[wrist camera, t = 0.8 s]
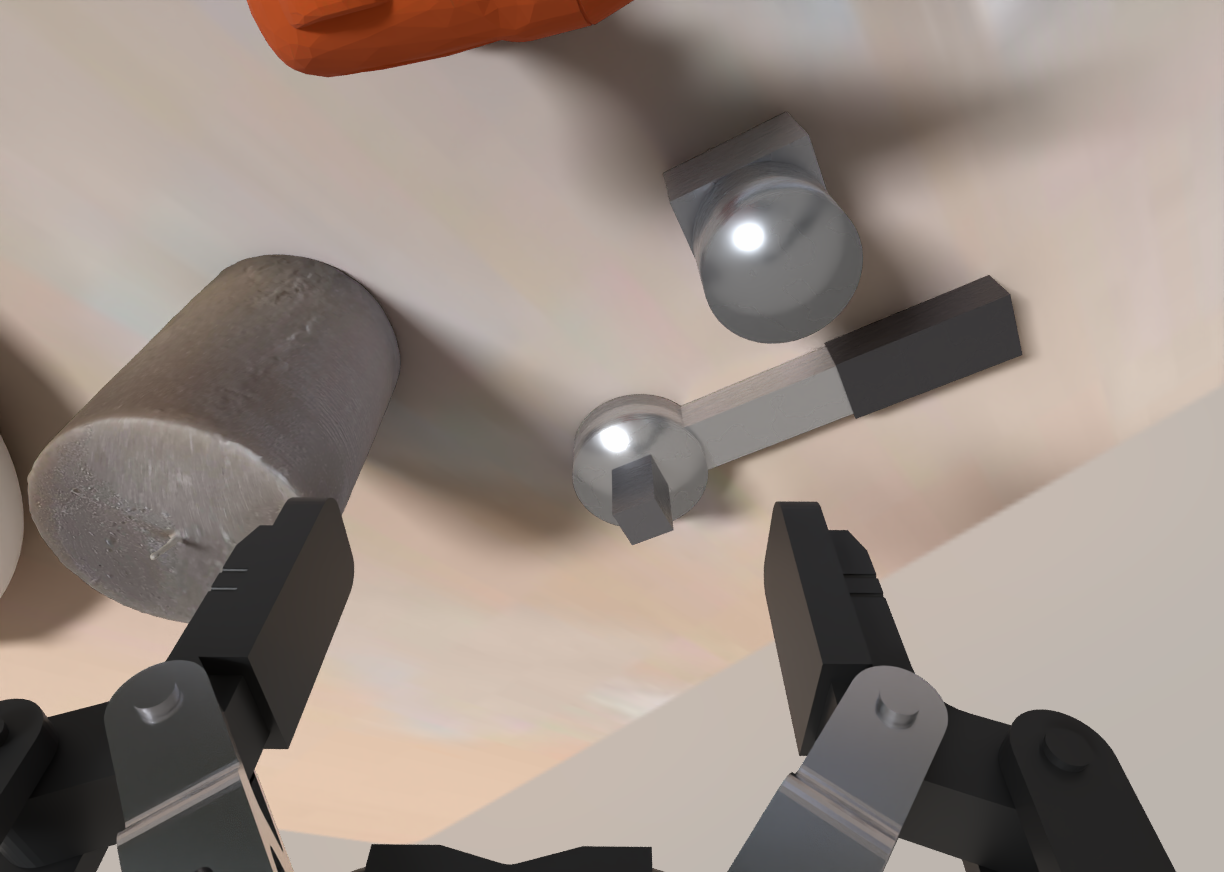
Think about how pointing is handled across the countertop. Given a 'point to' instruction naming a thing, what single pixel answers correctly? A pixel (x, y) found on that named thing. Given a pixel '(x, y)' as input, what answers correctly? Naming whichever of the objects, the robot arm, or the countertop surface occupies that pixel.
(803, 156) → the cylinder on square block
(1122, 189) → the countertop surface
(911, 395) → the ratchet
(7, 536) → the bowl
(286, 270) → the pillar candle
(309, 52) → the toy drill
